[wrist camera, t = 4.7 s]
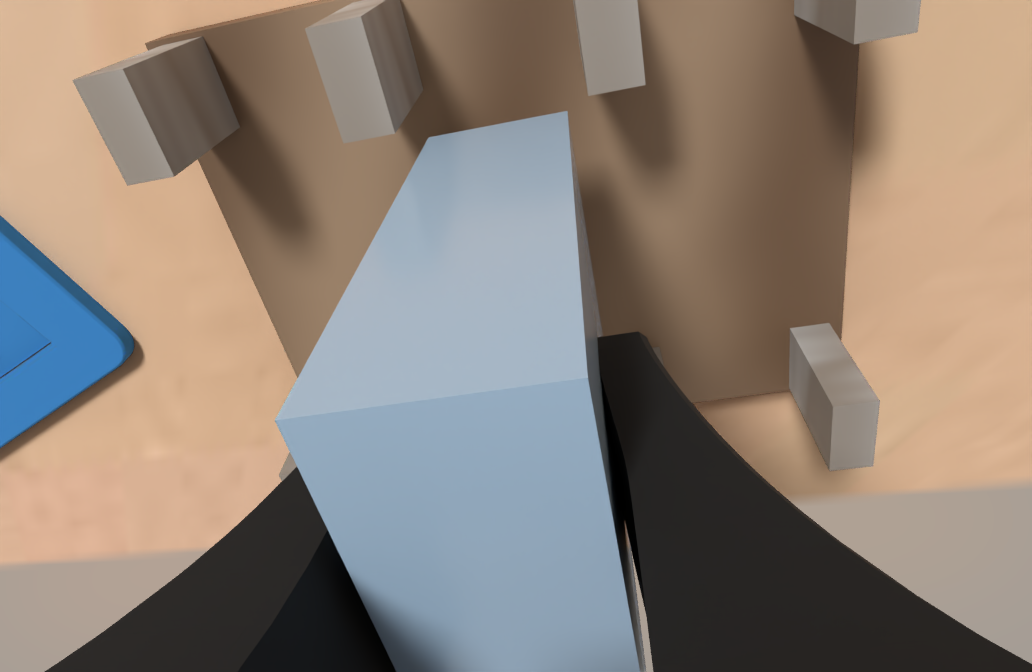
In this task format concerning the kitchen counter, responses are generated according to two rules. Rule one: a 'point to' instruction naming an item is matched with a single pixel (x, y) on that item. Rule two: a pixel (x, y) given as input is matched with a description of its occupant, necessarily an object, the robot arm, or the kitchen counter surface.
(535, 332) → the slate-blue tile
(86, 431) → the kitchen counter surface
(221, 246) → the kitchen counter surface
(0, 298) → the handheld gaming device
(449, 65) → the walnut rack
